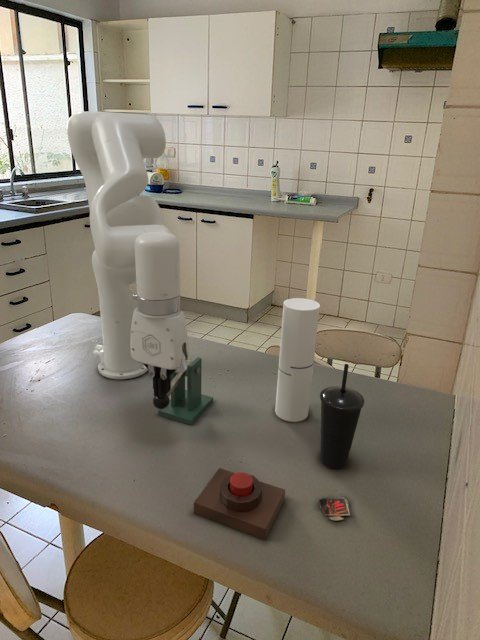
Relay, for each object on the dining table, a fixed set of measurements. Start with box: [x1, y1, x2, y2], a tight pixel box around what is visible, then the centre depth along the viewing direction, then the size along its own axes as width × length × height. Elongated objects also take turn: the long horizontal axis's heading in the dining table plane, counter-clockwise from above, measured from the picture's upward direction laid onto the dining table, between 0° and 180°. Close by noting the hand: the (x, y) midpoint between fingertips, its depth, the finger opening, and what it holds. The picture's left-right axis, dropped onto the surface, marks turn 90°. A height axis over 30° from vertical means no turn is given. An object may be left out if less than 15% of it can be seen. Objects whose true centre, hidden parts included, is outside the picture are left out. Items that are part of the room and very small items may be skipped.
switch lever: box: [152, 358, 194, 410], centre depth 93 cm, size 13×3×3 cm, turn 156°
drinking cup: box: [319, 363, 366, 470], centre depth 82 cm, size 8×8×20 cm
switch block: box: [193, 467, 286, 541], centre depth 74 cm, size 12×9×4 cm
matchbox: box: [318, 497, 351, 522], centre depth 74 cm, size 5×5×1 cm
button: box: [230, 472, 253, 497], centre depth 73 cm, size 4×4×2 cm
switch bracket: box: [157, 356, 214, 426], centre depth 98 cm, size 10×8×12 cm
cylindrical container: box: [274, 297, 321, 423], centre depth 96 cm, size 7×7×25 cm
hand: (162, 393), depth 89 cm, fingers closed
